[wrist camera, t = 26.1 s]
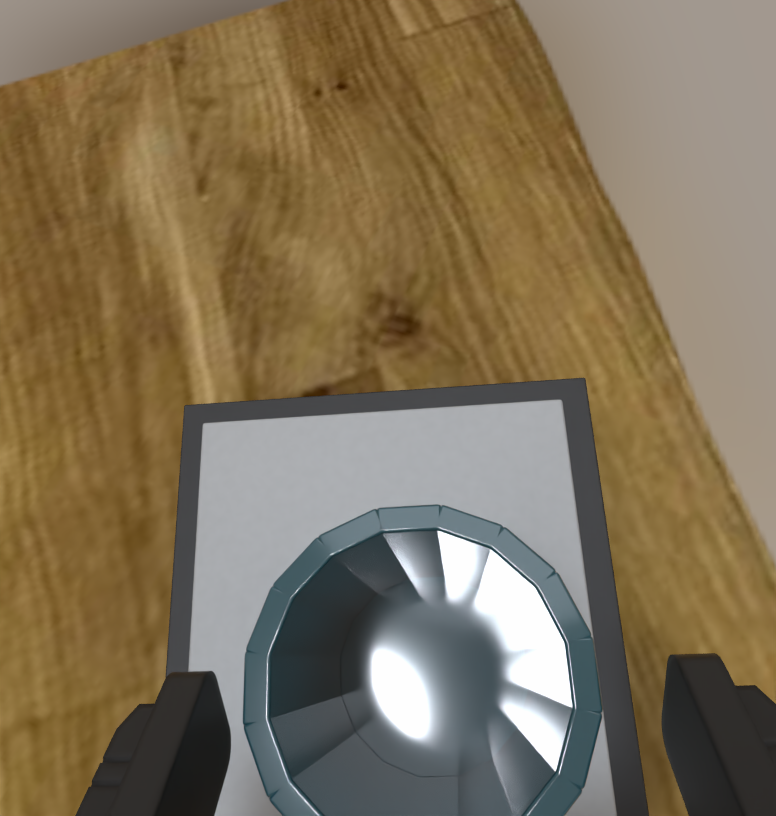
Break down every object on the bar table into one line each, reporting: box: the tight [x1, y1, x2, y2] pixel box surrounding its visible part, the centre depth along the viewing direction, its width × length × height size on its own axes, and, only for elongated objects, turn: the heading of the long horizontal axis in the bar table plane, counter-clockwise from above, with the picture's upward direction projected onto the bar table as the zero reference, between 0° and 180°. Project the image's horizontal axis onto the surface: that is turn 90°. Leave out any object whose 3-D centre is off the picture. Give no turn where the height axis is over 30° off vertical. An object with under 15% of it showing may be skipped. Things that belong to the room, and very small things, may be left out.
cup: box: [243, 504, 603, 816], centre depth 16 cm, size 6×6×8 cm
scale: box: [166, 378, 649, 816], centre depth 22 cm, size 14×14×3 cm
